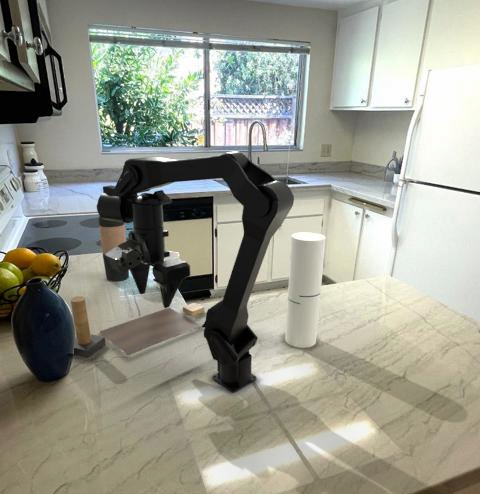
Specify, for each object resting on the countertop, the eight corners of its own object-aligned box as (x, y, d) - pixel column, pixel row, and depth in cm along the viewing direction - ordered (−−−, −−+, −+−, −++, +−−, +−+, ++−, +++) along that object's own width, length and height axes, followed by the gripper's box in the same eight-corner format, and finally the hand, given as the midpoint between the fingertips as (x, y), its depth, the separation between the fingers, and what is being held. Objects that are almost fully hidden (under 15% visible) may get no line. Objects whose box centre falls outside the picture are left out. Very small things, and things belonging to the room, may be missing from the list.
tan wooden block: (204, 315, 106) (204, 306, 105) (192, 320, 103) (192, 311, 102) (194, 310, 108) (194, 302, 107) (183, 315, 106) (182, 306, 105)
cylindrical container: (315, 349, 90) (325, 242, 81) (283, 345, 92) (290, 239, 82) (316, 334, 97) (325, 233, 87) (286, 331, 98) (292, 231, 89)
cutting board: (201, 329, 98) (201, 325, 98) (128, 360, 86) (127, 355, 85) (169, 311, 108) (169, 307, 107) (98, 336, 95) (97, 331, 95)
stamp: (106, 348, 90) (99, 295, 85) (88, 362, 85) (79, 306, 80) (84, 344, 92) (76, 291, 87) (65, 357, 87) (55, 302, 82)
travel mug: (104, 275, 133) (96, 215, 125) (127, 272, 136) (121, 213, 128) (107, 283, 126) (99, 220, 119) (132, 279, 129) (125, 218, 122)
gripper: (86, 223, 78) (96, 297, 84) (135, 244, 66) (143, 328, 72) (137, 215, 85) (143, 284, 91) (190, 232, 73) (193, 310, 79)
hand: (154, 300), depth 83 cm, fingers open, 9 cm apart
